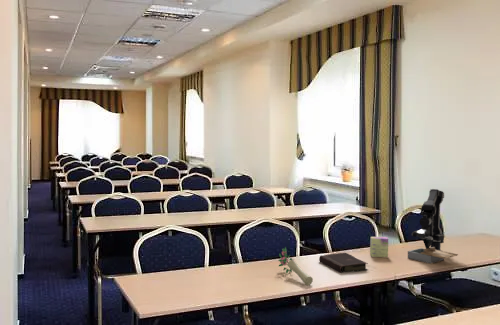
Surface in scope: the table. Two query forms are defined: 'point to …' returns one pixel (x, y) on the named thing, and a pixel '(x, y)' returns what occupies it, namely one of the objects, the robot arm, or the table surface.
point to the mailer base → (422, 256)
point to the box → (379, 247)
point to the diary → (343, 262)
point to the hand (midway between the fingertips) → (427, 249)
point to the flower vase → (294, 268)
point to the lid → (438, 253)
